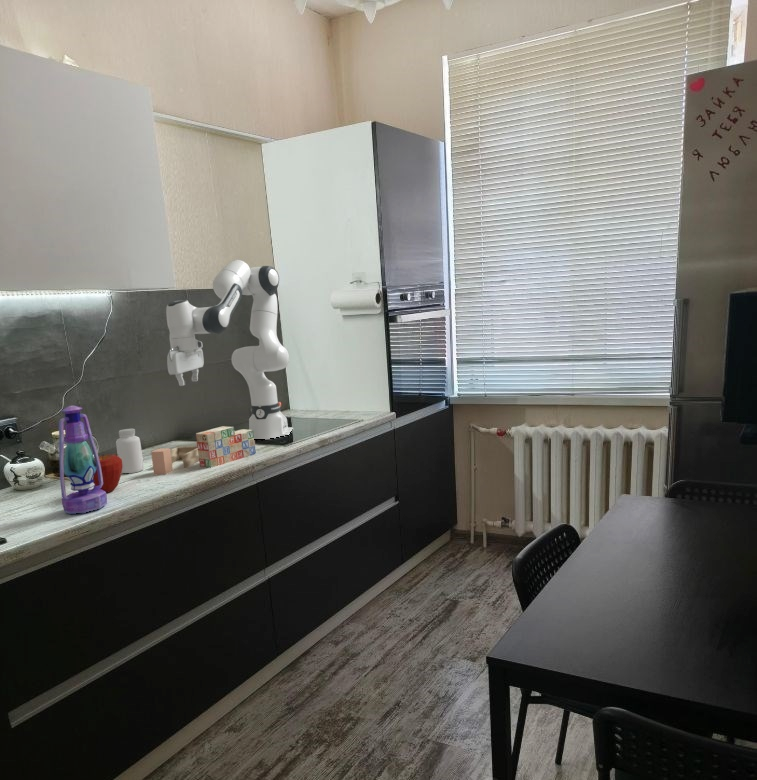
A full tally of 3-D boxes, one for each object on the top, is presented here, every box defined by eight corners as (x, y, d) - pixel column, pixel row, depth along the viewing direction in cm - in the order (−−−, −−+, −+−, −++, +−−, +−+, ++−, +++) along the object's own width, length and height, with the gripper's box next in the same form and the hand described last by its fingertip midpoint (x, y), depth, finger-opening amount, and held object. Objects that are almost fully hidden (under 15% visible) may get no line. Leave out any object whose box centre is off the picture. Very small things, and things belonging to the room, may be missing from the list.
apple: (99, 487, 197) (94, 450, 196) (131, 485, 197) (127, 448, 195) (81, 497, 186) (76, 459, 185) (116, 495, 186) (110, 457, 184)
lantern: (80, 518, 166) (65, 409, 162) (51, 515, 170) (35, 409, 167) (119, 502, 178) (105, 401, 174) (90, 500, 182) (76, 401, 179)
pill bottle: (138, 467, 222) (133, 426, 220) (147, 470, 216) (142, 428, 214) (116, 472, 216) (110, 431, 214) (125, 475, 211) (119, 433, 209)
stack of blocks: (244, 452, 233) (241, 421, 231) (256, 454, 229) (252, 421, 228) (199, 466, 216) (195, 432, 214) (210, 468, 212) (206, 433, 211)
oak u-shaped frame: (178, 458, 231) (176, 447, 231) (205, 457, 229) (203, 446, 228) (158, 468, 217) (156, 456, 217) (186, 467, 215) (185, 455, 215)
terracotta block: (161, 471, 213) (158, 448, 212) (172, 470, 212) (170, 448, 211) (154, 474, 209) (151, 451, 208) (166, 474, 208) (163, 451, 207)
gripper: (176, 348, 208) (182, 387, 211) (204, 342, 228) (209, 378, 230) (160, 349, 210) (165, 388, 212) (189, 343, 229) (194, 379, 232)
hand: (188, 383), depth 221 cm, fingers open, 8 cm apart
